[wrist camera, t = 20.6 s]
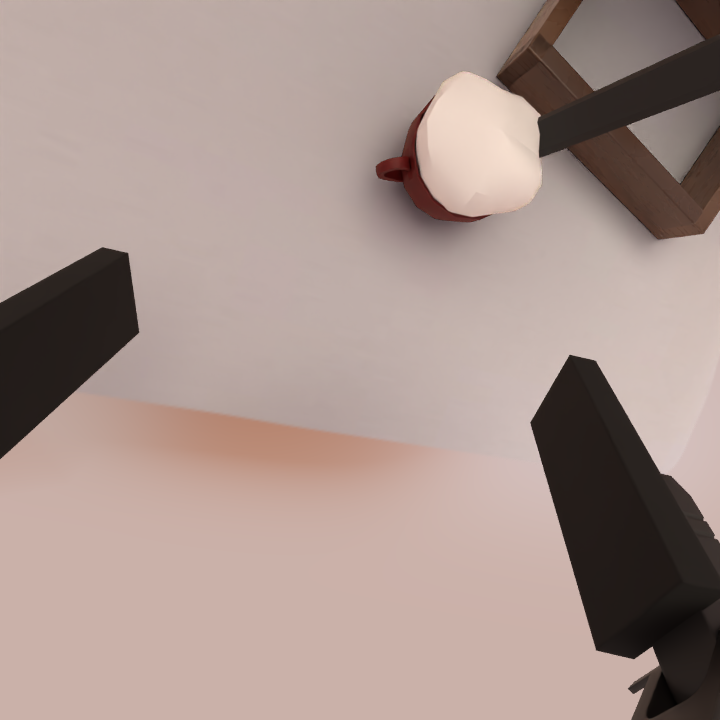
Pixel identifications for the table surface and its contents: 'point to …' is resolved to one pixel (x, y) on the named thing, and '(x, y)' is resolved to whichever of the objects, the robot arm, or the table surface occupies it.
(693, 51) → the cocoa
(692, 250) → the table surface
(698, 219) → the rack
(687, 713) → the robot arm
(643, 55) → the table surface
